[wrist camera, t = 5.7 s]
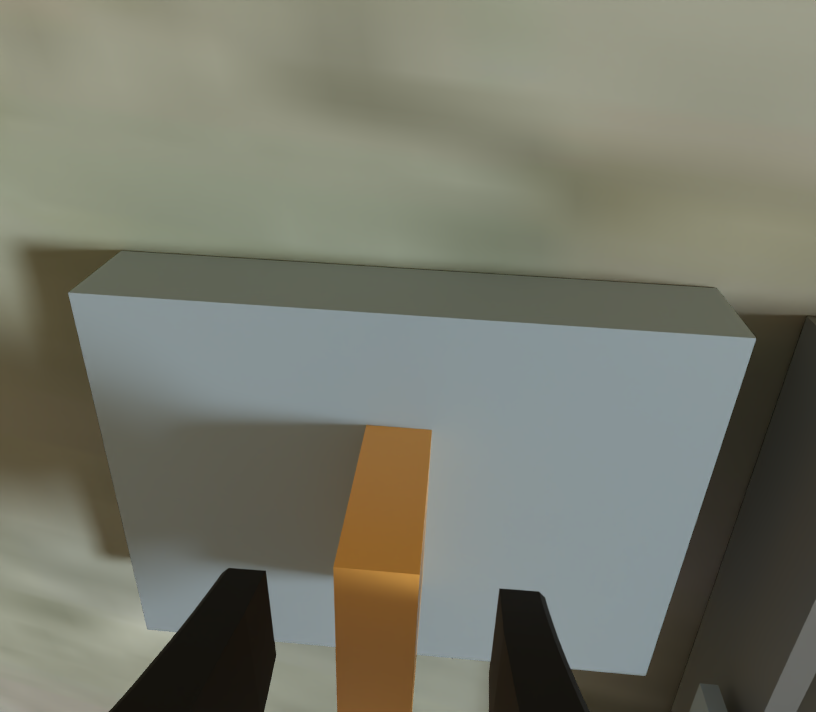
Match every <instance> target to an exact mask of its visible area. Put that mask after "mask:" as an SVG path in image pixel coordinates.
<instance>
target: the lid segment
mask: <svg viewBox="0 0 816 712" xmlns="http://www.w3.org/2000/svg"><path fill="white" fill-rule="evenodd" d="M689 712H727V709H726V706H725V703H724V700H723V697H722V694H721V691H720V689H719V686H718V685H714V684H702V683H700V684H699V687H698V690H697V692H696V695H695V698H694V700H693V703H692V706H691V709H690V711H689Z"/></svg>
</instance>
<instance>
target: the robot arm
mask: <svg viewBox="0 0 816 712" xmlns="http://www.w3.org/2000/svg"><path fill="white" fill-rule="evenodd" d="M275 658H276V650H275V642H274V633H273V625H272V617H271V608H270V600H269V592H268V584H267V575H266V571H264V570H251V569H238V568H228V569H226V570H225V571H224V572H222V574H221V575H220V576H219V578H218V579H217V580H216V582H215V583H214V585H213V586H212V587H211V589H210V590H209V591H208V593H207V594H206V595H205V597H204V598H203V599H202V601H201V602H200V603H199V604H198V606H197V607H196V608H195V610H194V611H193V612H192V614H191V615H190V616H189V617H188V619H187V620H186V621H185V623H184V624H183V625H182V626H181V628H180V629H179V630H178V631H177V633H176V634H175V635H174V636H173V638H172V639H171V640H170V641H169V643H168V644H167V645H166V646H165V647H164V649H163V650H162V651H161V652H160V653H159V655H158V656H157V657H156V658H155V659H154V660H153V662H152V663H151V664H150V665H149V666H148V668H147V669H146V670H145V671H144V672H143V674H142V675H141V676H140V677H139V678H138V679H137V681H136V682H135V683H134V684H133V685H132V687H131V688H130V689H129V690H128V691H127V692H126V693H125V695H124V696H123V697H122V698H121V699H120V700H119V701H118V702H117V703H116V705H115V706H114V707H113V708H112V709H111V710H110V711H109V712H264V709H265V704H266V700H267V695H268V691H269V686H270V682H271V677H272V672H273V667H274V663H275ZM489 712H589V709H588V707H587V705H586V703H585V701H584V699H583V697H582V694H581V692H580V690H579V687H578V685H577V683H576V681H575V678H574V676H573V673H572V671H571V669H570V666H569V664H568V661H567V659H566V656H565V654H564V651H563V649H562V646H561V644H560V641H559V638H558V636H557V633H556V630H555V627H554V624H553V621H552V618H551V615H550V612H549V609H548V606H547V602H546V599H545V597H544V596H543V595H542V594H541V593H540V592H539V591H527V590H514V589H500V588H499V596H498V604H497V612H496V620H495V629H494V637H493V645H492V653H491V662H490V670H489Z"/></svg>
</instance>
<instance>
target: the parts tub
mask: <svg viewBox="0 0 816 712" xmlns="http://www.w3.org/2000/svg"><path fill="white" fill-rule="evenodd" d="M700 683H702V684H714V685H718V686H719V689H720V691H721V694H722V697H723V700H724V703H725V706H726V709H727V712H816V317H812V316H807V317H806V320H805V323H804V326H803V329H802V332H801V335H800V338H799V340H798V343H797V346H796V349H795V352H794V355H793V358H792V361H791V364H790V367H789V369H788V372H787V375H786V378H785V381H784V384H783V387H782V390H781V393H780V396H779V398H778V401H777V404H776V407H775V410H774V413H773V416H772V419H771V422H770V425H769V427H768V430H767V433H766V436H765V439H764V442H763V445H762V448H761V451H760V454H759V456H758V459H757V462H756V465H755V468H754V471H753V474H752V477H751V480H750V483H749V485H748V488H747V491H746V494H745V497H744V500H743V503H742V506H741V509H740V512H739V514H738V517H737V520H736V523H735V526H734V529H733V532H732V535H731V538H730V541H729V544H728V546H727V549H726V552H725V555H724V558H723V561H722V564H721V567H720V570H719V573H718V575H717V578H716V581H715V584H714V587H713V590H712V593H711V596H710V599H709V602H708V604H707V607H706V610H705V613H704V616H703V619H702V622H701V625H700V628H699V631H698V633H697V636H696V639H695V642H694V645H693V648H692V651H691V654H690V657H689V660H688V662H687V665H686V668H685V671H684V674H683V677H682V680H681V683H680V686H679V689H678V691H677V694H676V697H675V700H674V703H673V706H672V709H671V712H689V711H690V709H691V706H692V703H693V700H694V698H695V695H696V692H697V690H698V687H699V684H700Z"/></svg>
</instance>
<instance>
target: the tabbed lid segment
mask: <svg viewBox="0 0 816 712" xmlns="http://www.w3.org/2000/svg"><path fill="white" fill-rule="evenodd" d="M68 294H69V299H70V303H71V307H72V311H73V316H74V320H75V324H76V328H77V333H78V337H79V341H80V345H81V350H82V354H83V358H84V362H85V367H86V371H87V375H88V379H89V384H90V388H91V392H92V396H93V401H94V405H95V409H96V413H97V418H98V422H99V426H100V430H101V435H102V439H103V443H104V447H105V452H106V456H107V460H108V464H109V469H110V473H111V477H112V481H113V486H114V490H115V494H116V498H117V503H118V507H119V511H120V515H121V520H122V524H123V528H124V532H125V537H126V541H127V545H128V549H129V554H130V558H131V562H132V566H133V571H134V575H135V579H136V583H137V588H138V592H139V596H140V600H141V605H142V609H143V613H144V617H145V621H146V626H147V629H148V630H159V631H169V632H177V631H178V630H179V629H180V628H181V626H182V625H183V624H184V623H185V621H186V620H187V619H188V617H189V616H190V615H191V614H192V612H193V611H194V610H195V608H196V607H197V606H198V604H199V603H200V602H201V601H202V599H203V598H204V597H205V595H206V594H207V593H208V591H209V590H210V589H211V587H212V586H213V585H214V583H215V582H216V580H217V579H218V578H219V576H220V575H221V574H222V572H224V571H225V570H226V569H228V568H238V569H251V570H264V571H266V575H267V584H268V592H269V600H270V608H271V617H272V625H273V633H274V641H277V642H287V643H298V644H309V645H319V646H330V647H336V679H337V712H412V706H413V694H414V681H415V669H416V656H417V655H426V656H437V657H448V658H459V659H469V660H480V661H491V653H492V645H493V637H494V629H495V620H496V612H497V604H498V596H499V588H500V589H514V590H527V591H539V592H540V593H541V594H542V595H543V596H544V597H545V599H546V602H547V606H548V609H549V612H550V615H551V618H552V621H553V624H554V627H555V630H556V633H557V636H558V638H559V641H560V644H561V646H562V649H563V651H564V654H565V656H566V659H567V661H568V664H569V666H570V669H576V670H587V671H598V672H608V673H619V674H630V675H641V676H646V673H647V670H648V667H649V664H650V661H651V658H652V655H653V652H654V649H655V645H656V642H657V639H658V636H659V633H660V630H661V627H662V624H663V621H664V618H665V615H666V612H667V609H668V606H669V603H670V600H671V597H672V594H673V591H674V588H675V585H676V582H677V579H678V575H679V572H680V569H681V566H682V563H683V560H684V557H685V554H686V551H687V548H688V545H689V542H690V539H691V536H692V533H693V530H694V527H695V524H696V521H697V518H698V515H699V512H700V509H701V505H702V502H703V499H704V496H705V493H706V490H707V487H708V484H709V481H710V478H711V475H712V472H713V469H714V466H715V463H716V460H717V457H718V454H719V451H720V448H721V445H722V442H723V439H724V436H725V432H726V429H727V426H728V423H729V420H730V417H731V414H732V411H733V408H734V405H735V402H736V399H737V396H738V393H739V390H740V387H741V384H742V381H743V378H744V375H745V372H746V369H747V366H748V362H749V359H750V356H751V353H752V350H753V347H754V344H755V341H756V337H755V336H754V335H753V333H752V332H751V331H750V330H749V328H748V327H747V326H746V324H745V323H744V322H743V321H742V319H741V318H740V317H739V316H738V314H737V313H736V312H735V310H734V309H733V308H732V307H731V305H730V304H729V303H728V302H727V300H726V299H725V298H724V296H723V295H722V294H721V293H720V291H719V290H718V289H717V288H707V287H691V286H675V285H659V284H643V283H628V282H612V281H596V280H580V279H564V278H548V277H532V276H516V275H500V274H484V273H468V272H452V271H436V270H420V269H404V268H388V267H372V266H356V265H341V264H325V263H309V262H293V261H277V260H261V259H245V258H229V257H213V256H197V255H181V254H165V253H149V252H133V251H120V252H119V253H118V254H116V255H115V256H114V257H113V258H111V259H110V260H109V261H108V262H106V263H105V264H104V265H102V266H101V267H100V268H99V269H97V270H96V271H95V272H94V273H92V274H91V275H90V276H89V277H87V278H86V279H85V280H83V281H82V282H81V283H80V284H78V285H77V286H76V287H75V288H73V289H72V290H71V291H69V292H68Z"/></svg>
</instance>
